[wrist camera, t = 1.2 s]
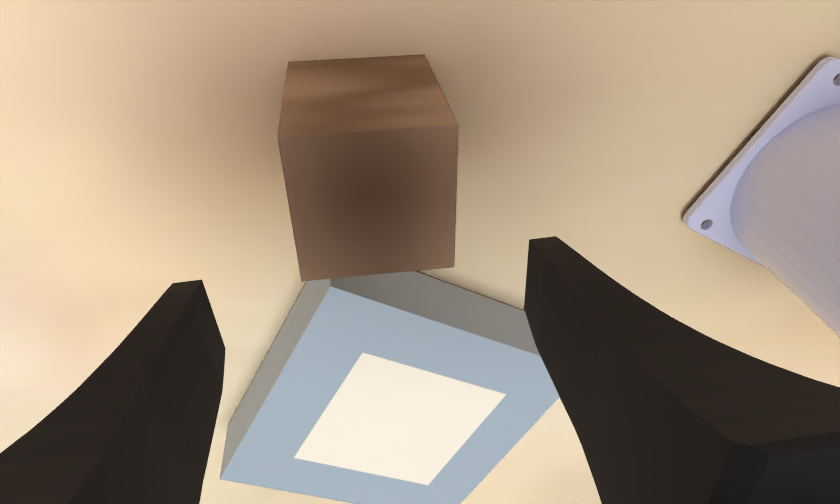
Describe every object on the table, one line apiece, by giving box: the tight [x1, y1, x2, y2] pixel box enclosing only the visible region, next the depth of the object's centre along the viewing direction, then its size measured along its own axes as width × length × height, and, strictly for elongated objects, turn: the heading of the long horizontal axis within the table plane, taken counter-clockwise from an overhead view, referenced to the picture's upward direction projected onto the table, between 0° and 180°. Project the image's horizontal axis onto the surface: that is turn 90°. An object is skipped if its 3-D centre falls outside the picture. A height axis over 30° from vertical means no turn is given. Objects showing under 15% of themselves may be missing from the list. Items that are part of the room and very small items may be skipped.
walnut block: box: [278, 55, 458, 281], centre depth 18 cm, size 4×4×6 cm
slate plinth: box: [220, 271, 560, 504], centre depth 27 cm, size 12×12×3 cm
